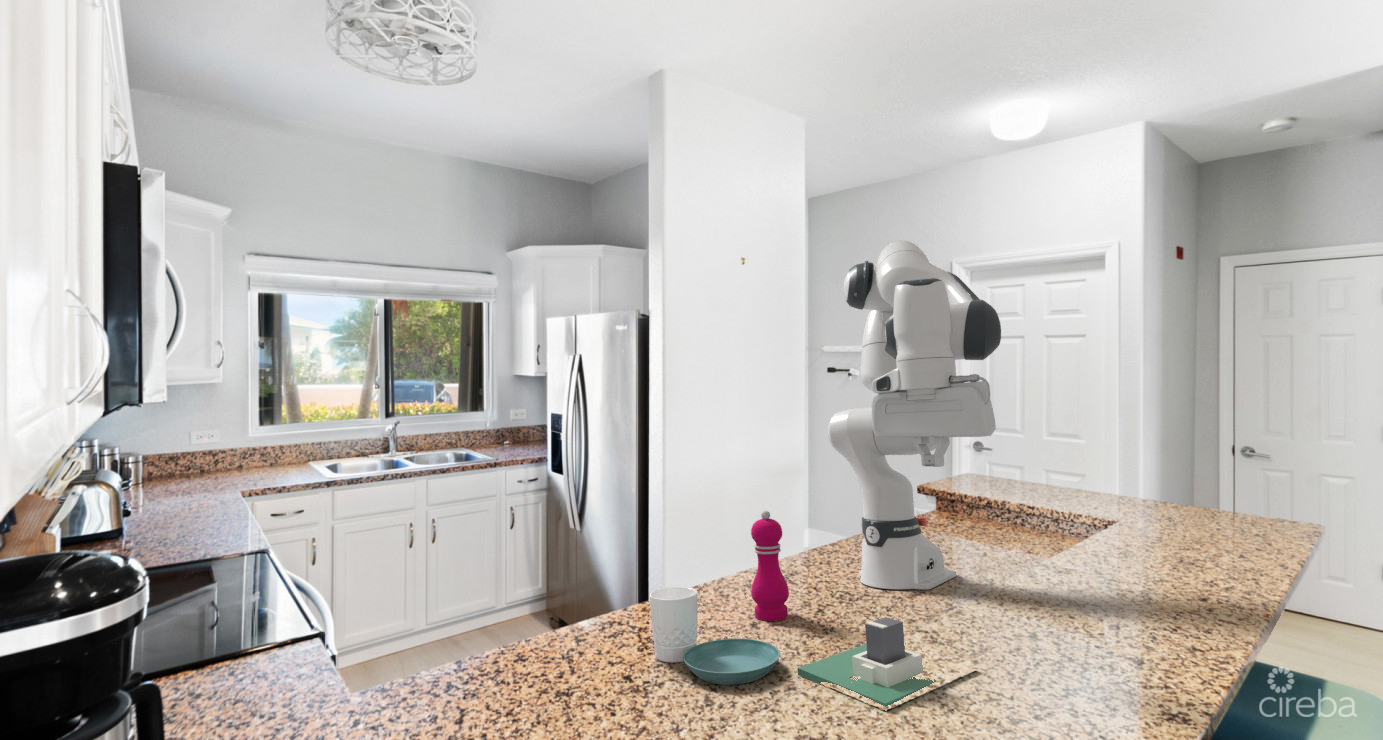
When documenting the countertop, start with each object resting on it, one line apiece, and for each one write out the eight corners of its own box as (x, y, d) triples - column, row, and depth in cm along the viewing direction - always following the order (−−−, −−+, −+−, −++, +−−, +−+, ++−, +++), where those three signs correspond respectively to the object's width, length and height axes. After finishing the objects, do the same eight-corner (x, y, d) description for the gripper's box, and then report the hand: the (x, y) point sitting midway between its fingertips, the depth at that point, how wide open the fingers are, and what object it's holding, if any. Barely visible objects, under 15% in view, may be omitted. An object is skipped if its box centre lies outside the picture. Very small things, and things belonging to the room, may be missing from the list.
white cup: (683, 667, 101) (680, 601, 102) (642, 660, 105) (639, 596, 106) (709, 651, 108) (706, 589, 109) (669, 644, 112) (667, 584, 113)
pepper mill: (789, 622, 121) (782, 512, 122) (750, 622, 122) (744, 513, 124) (791, 610, 128) (785, 507, 129) (754, 610, 129) (748, 508, 131)
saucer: (743, 647, 109) (742, 631, 110) (801, 674, 97) (800, 656, 97) (666, 668, 102) (665, 651, 102) (718, 700, 89) (717, 680, 89)
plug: (889, 666, 95) (885, 616, 96) (906, 672, 93) (902, 620, 93) (868, 674, 93) (864, 622, 93) (885, 680, 90) (881, 627, 91)
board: (886, 643, 108) (885, 621, 108) (976, 671, 94) (974, 646, 95) (797, 674, 96) (796, 650, 96) (885, 711, 83) (883, 683, 83)
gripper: (999, 372, 97) (1007, 466, 96) (887, 383, 114) (893, 463, 113) (975, 372, 93) (983, 470, 92) (863, 383, 110) (869, 466, 109)
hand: (933, 466), depth 103 cm, fingers closed
